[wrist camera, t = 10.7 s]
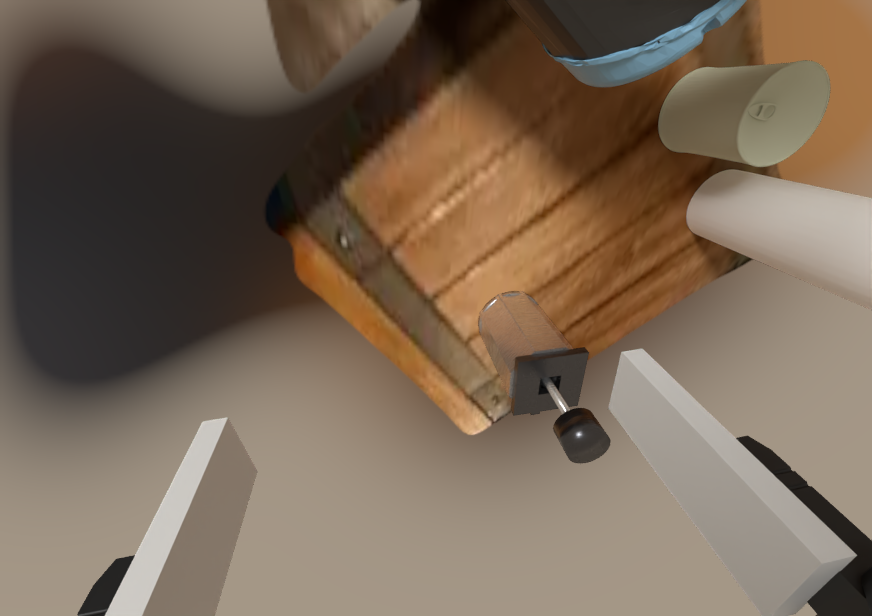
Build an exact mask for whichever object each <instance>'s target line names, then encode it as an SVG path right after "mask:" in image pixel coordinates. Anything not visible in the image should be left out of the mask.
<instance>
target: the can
mask: <svg viewBox="0 0 872 616" xmlns="http://www.w3.org/2000/svg"><path fill="white" fill-rule="evenodd" d="M829 97H830V79H829V76H828V73H827V72H826V70H825V69H824V67H823V66H821V65H820V64H818V63H816V62H813V61H807V60H805V61H797V62H792V63H783V64H782V63H781V64H769V65H757V66H743V67H728V68H714V67H703V68H699V69H696V70H694V71H692V72H690V73H689V74H687V75H685V76H684V77H683V78H682V79H681V80H679V81H678V82H677V83H676V85H675V86H674V87H673V88H672V89H671V91H670V92H669V94H668V95H667V97H666V99H665V101H664V103H663V105H662V108H661V111H660V115H659V120H658V131H659V136H660V138H661V141H662V142H663V144H664V145H665V146H666V147H667V148H668V149H670V150H672V151H674V152H680V153H684V152H686V153H693V154H698V155H704V156H709V157H715V158H720V159H725V160H730V161H735V162H740V163H744V164H749V165H751V166H754V167H766V166H771V165H774V164H777V163H779V162H781V161H783V160H785V159H786V158H788V157H789V156H791V155H792V154H794V153H795V152H796V151H797V150H798V149H799V148H801V146H803V145H804V144H805V142H806V141H807V140H808V139H809V138H810V137H811V135H812V134H813V133H814V131H815V129H816V128H817V127H818V125H819V123H820V122H821V120H822V118H823V116H824V113H825V111H826V108H827V105H828V102H829Z"/></svg>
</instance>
